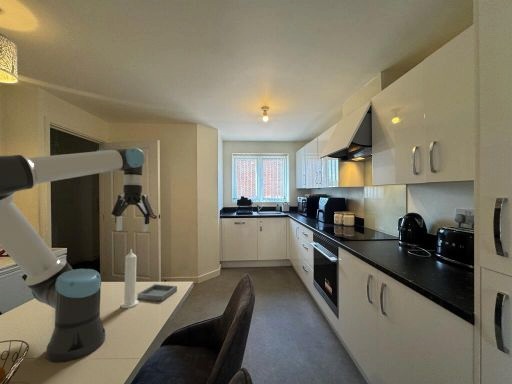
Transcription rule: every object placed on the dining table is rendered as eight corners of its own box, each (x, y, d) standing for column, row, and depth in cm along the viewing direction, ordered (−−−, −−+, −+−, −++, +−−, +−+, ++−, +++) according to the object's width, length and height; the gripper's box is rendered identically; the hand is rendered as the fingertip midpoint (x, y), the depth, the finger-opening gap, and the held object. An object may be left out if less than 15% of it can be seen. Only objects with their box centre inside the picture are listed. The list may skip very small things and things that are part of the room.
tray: (161, 301, 107) (162, 296, 107) (137, 299, 110) (137, 293, 110) (176, 291, 120) (177, 286, 120) (154, 288, 122) (154, 284, 123)
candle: (133, 308, 101) (134, 250, 101) (117, 308, 101) (118, 250, 102) (141, 301, 108) (142, 247, 108) (126, 300, 108) (128, 247, 109)
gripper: (162, 185, 107) (161, 230, 107) (116, 185, 112) (115, 229, 112) (151, 184, 100) (150, 233, 99) (103, 184, 105) (101, 231, 104)
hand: (131, 231), depth 105 cm, fingers open, 13 cm apart
